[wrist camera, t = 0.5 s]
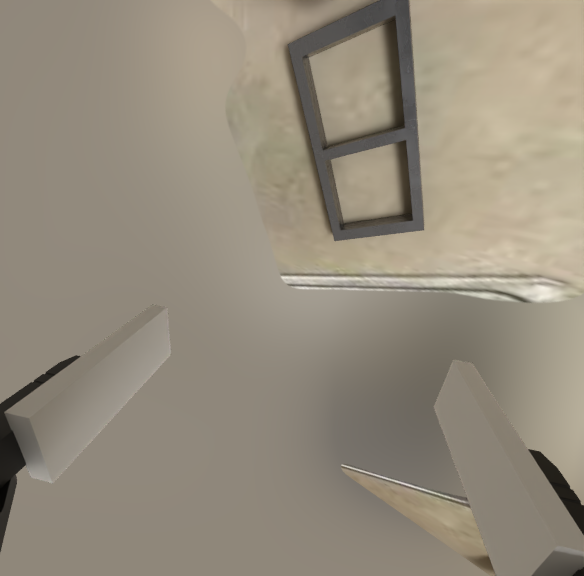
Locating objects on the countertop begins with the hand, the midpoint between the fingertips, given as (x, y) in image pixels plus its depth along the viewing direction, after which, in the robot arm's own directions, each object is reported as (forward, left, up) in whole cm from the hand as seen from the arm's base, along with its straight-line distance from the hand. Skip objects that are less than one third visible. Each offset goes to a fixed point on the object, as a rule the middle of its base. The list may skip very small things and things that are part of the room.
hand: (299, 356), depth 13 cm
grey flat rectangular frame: (-5, 0, -25) cm, 26 cm away
